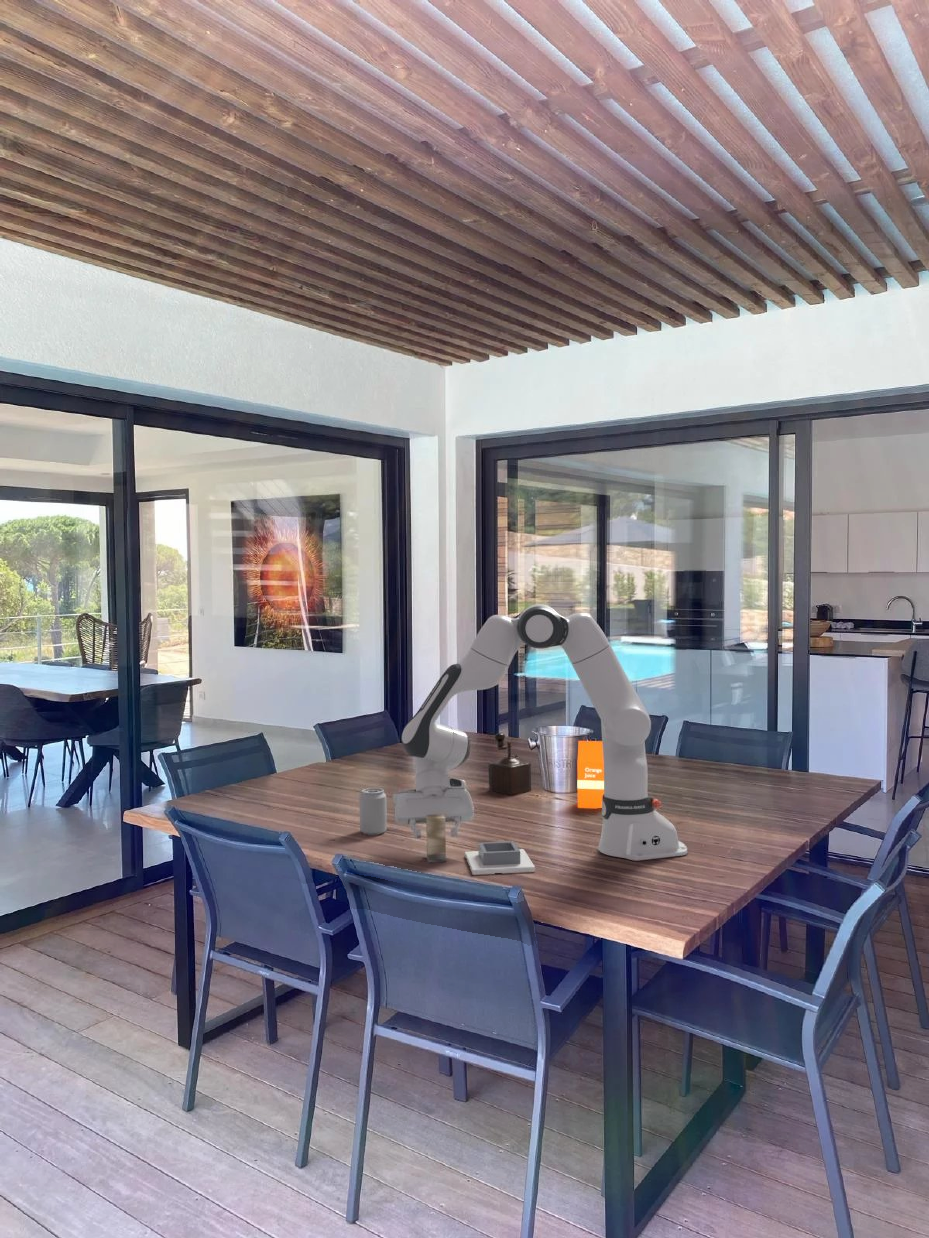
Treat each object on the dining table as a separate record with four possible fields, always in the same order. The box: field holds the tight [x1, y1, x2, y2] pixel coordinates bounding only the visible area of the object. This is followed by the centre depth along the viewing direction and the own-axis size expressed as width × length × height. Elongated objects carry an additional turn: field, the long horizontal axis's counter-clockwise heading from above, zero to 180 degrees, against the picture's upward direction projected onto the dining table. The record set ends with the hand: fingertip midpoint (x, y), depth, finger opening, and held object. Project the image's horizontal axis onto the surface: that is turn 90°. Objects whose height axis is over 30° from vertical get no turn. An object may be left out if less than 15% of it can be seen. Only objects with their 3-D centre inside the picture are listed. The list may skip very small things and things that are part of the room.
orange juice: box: [576, 740, 604, 809], centre depth 286 cm, size 8×9×20 cm
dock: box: [464, 840, 536, 876], centre depth 228 cm, size 15×15×4 cm
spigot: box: [425, 814, 447, 864], centre depth 232 cm, size 4×4×11 cm
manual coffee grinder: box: [488, 732, 532, 796], centre depth 309 cm, size 16×11×18 cm
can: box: [359, 787, 388, 836], centre depth 258 cm, size 8×8×12 cm
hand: (436, 836), depth 231 cm, fingers open, 8 cm apart
